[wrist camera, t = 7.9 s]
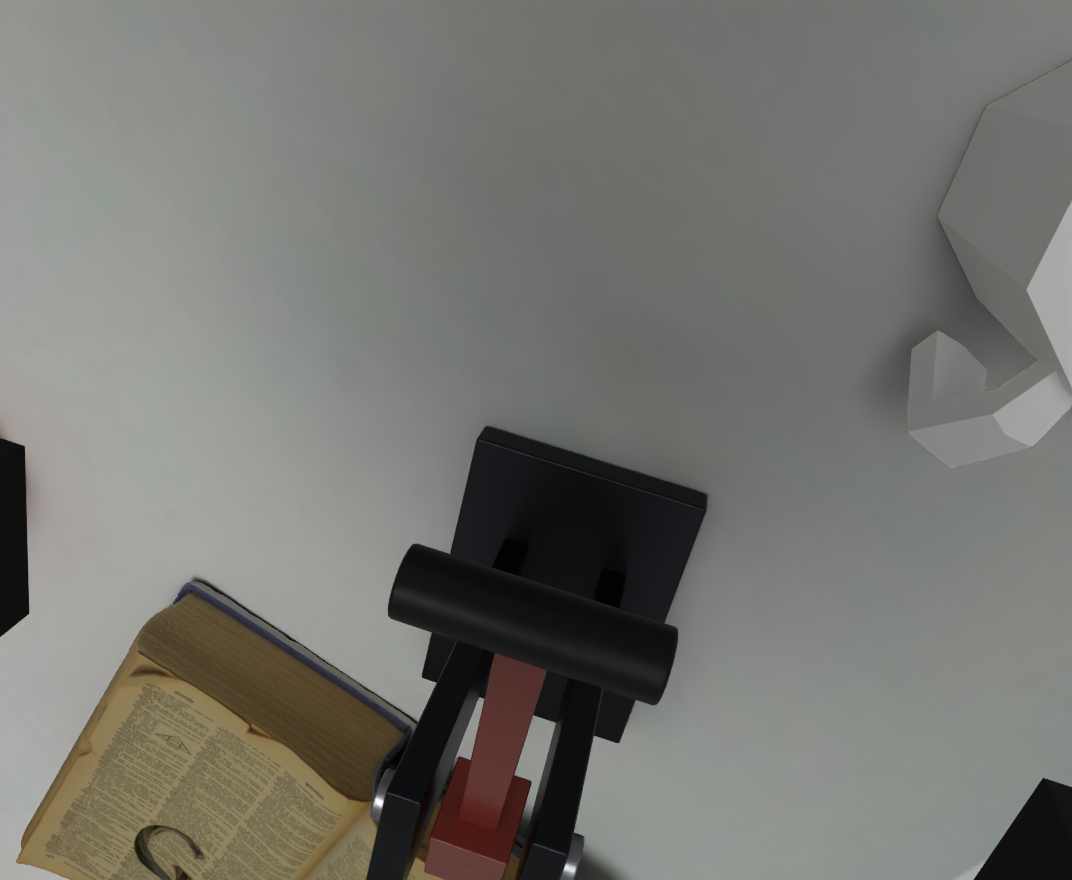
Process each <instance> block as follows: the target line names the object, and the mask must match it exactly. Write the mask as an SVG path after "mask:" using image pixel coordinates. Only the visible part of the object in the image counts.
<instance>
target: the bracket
mask: <svg viewBox="0 0 1072 880" xmlns="http://www.w3.org/2000/svg"><path fill="white" fill-rule="evenodd" d="M706 509H707V495H706V494H704V493H701V492H698V491H694V490H691V489H688V488H685V487H681V486H678V485H675V484H672V483H668V482H665V481H662V480H659V479H655V478H652V477H649V476H646V475H643V474H639V473H636V472H633V471H630V470H626V469H623V468H620V467H617V466H613V465H610V464H607V463H604V462H600V461H597V460H594V459H591V458H588V457H584V456H581V455H578V454H575V453H571V452H568V451H565V450H562V449H558V448H555V447H552V446H549V445H545V444H542V443H539V442H536V441H533V440H529V439H526V438H523V437H520V436H516V435H513V434H510V433H507V432H503V431H500V430H497V429H494V428H490V427H485V428H484V429H483V431H482V432H481V434H480V435H479V437H478V438H477V441H476V445H475V449H474V454H473V458H472V462H471V466H470V471H469V475H468V479H467V484H466V488H465V492H464V496H463V501H462V505H461V509H460V514H459V518H458V522H457V526H456V531H455V535H454V539H453V544H452V548H451V552H450V554H451V555H454V556H458V557H461V558H464V559H467V560H470V561H473V562H476V563H479V564H482V565H485V566H489V567H492V568H495V569H498V570H501V571H504V572H507V573H510V574H513V575H516V576H520V577H523V578H526V579H529V580H532V581H535V582H538V583H541V584H544V585H547V586H551V587H554V588H557V589H560V590H563V591H566V592H569V593H572V594H575V595H578V596H581V597H585V598H588V599H591V600H594V601H597V602H600V603H603V604H606V605H609V606H612V607H616V608H619V609H622V610H625V611H628V612H631V613H634V614H637V615H640V616H643V617H647V618H650V619H653V620H656V621H659V622H662V623H664V622H665V620H666V617H667V614H668V612H669V609H670V606H671V604H672V601H673V598H674V596H675V593H676V590H677V588H678V585H679V582H680V580H681V577H682V574H683V572H684V569H685V566H686V564H687V561H688V558H689V556H690V553H691V550H692V548H693V545H694V542H695V540H696V537H697V534H698V532H699V529H700V526H701V524H702V521H703V518H704V516H705V513H706ZM494 655H495V653H493V652H490V651H487V650H484V649H481V648H478V647H475V646H472V645H469V644H466V643H463V642H460V641H457V640H454V639H451V638H448V637H445V636H442V635H439V634H436V633H433V632H432V634H431V638H430V642H429V647H428V651H427V655H426V659H425V664H424V668H423V672H422V678H425V679H427V680H430V681H433V682H436V686H435V688H434V690H433V692H432V694H431V696H430V698H429V700H428V703H427V705H426V707H425V709H424V711H423V713H422V715H421V717H420V720H419V722H418V724H417V726H416V728H415V730H414V732H413V734H412V737H411V739H410V741H409V743H408V745H407V747H406V749H405V751H404V754H403V756H402V758H401V760H400V762H399V764H398V766H397V768H396V771H394V770H391V769H387V770H386V771H385V773H384V775H383V776H382V779H381V781H380V783H379V786H378V788H377V791H376V793H375V796H374V799H373V803H372V806H371V810H370V818H371V819H374V820H377V821H379V823H378V828H377V832H376V837H375V841H374V846H373V850H372V854H371V859H370V863H369V868H368V872H367V876H366V880H407V878H408V876H409V873H410V871H411V868H412V866H413V863H414V860H415V858H416V855H417V853H418V850H419V848H420V845H421V843H422V840H423V838H424V835H425V833H426V830H427V828H428V825H429V822H430V820H431V817H432V815H433V812H434V810H435V807H436V805H437V802H438V800H439V797H440V795H441V792H442V790H443V787H444V784H445V782H446V779H447V777H448V774H449V772H450V769H451V767H452V764H453V762H454V759H455V757H456V754H457V752H458V749H459V747H460V744H461V741H462V739H463V736H464V734H465V731H466V729H467V726H468V724H469V721H470V719H471V716H472V714H473V711H474V709H475V706H476V703H477V701H478V698H479V697H481V698H484V699H485V695H486V690H487V686H488V681H489V677H490V672H491V668H492V663H493V659H494ZM634 702H635V699H632V698H629V697H626V696H623V695H620V694H617V693H614V692H611V691H608V690H605V689H602V688H599V687H596V686H593V685H590V684H587V683H584V682H581V681H578V680H575V679H572V678H568V677H565V676H562V675H559V674H556V673H553V672H550V671H547V672H546V676H545V679H544V682H543V685H542V688H541V691H540V695H539V698H538V701H537V704H536V707H535V710H534V714H533V715H535V716H538V717H541V718H544V719H547V720H550V721H553V722H556V725H555V729H554V733H553V736H552V740H551V744H550V748H549V751H548V755H547V759H546V763H545V767H544V770H543V774H542V778H541V782H540V785H539V789H538V793H537V797H536V800H535V804H534V808H533V812H532V816H531V819H530V823H529V827H528V831H527V834H526V838H525V842H524V846H523V849H522V853H521V857H520V861H519V865H518V868H517V872H516V876H515V880H575V877H576V874H577V871H578V867H579V864H580V860H581V856H582V851H583V847H584V836H582V835H579V834H576V833H574V829H575V824H576V819H577V815H578V810H579V805H580V800H581V795H582V790H583V785H584V781H585V776H586V771H587V766H588V761H589V756H590V751H591V747H592V742H593V737H594V736H597V737H600V738H603V739H606V740H609V741H612V742H615V743H619V742H620V740H621V737H622V735H623V732H624V729H625V727H626V724H627V721H628V719H629V716H630V713H631V711H632V708H633V705H634Z"/></svg>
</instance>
